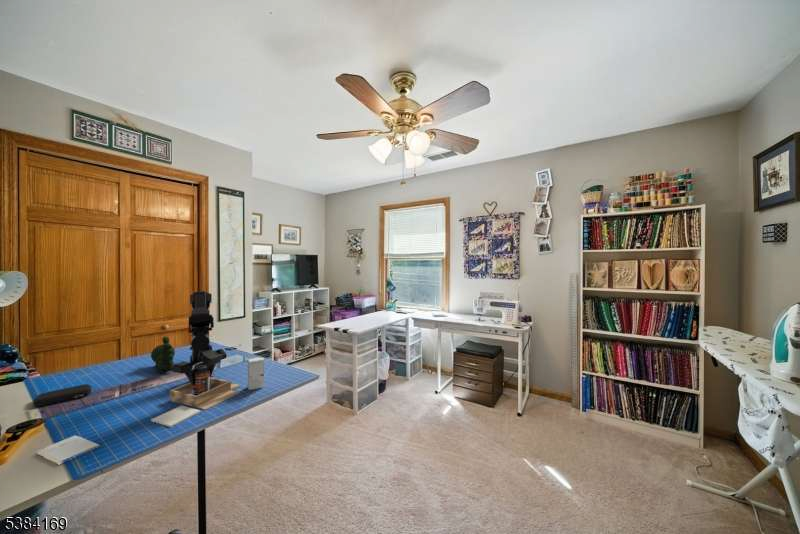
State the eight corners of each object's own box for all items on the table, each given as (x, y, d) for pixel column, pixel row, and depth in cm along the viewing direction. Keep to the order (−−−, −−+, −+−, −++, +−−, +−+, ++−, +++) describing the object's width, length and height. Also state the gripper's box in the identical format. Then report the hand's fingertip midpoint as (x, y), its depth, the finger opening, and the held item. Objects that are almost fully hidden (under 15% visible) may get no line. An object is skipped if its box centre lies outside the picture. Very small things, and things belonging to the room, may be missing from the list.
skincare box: (248, 390, 123) (248, 362, 122) (247, 386, 126) (247, 359, 126) (264, 387, 126) (264, 359, 126) (262, 383, 130) (262, 356, 129)
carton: (169, 400, 114) (169, 390, 113) (216, 380, 132) (216, 372, 132) (205, 410, 107) (205, 399, 107) (249, 387, 125) (249, 378, 125)
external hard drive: (59, 467, 78) (36, 456, 82) (99, 449, 86) (76, 439, 90) (58, 462, 78) (36, 450, 82) (99, 443, 86) (76, 434, 90)
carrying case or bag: (32, 411, 106) (91, 397, 116) (32, 403, 105) (91, 389, 116) (35, 401, 113) (91, 389, 124) (35, 393, 113) (90, 381, 124)
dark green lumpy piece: (179, 376, 140) (172, 358, 158) (179, 338, 138) (172, 324, 156) (154, 382, 134) (149, 362, 152) (153, 342, 132) (149, 327, 150)
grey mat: (150, 421, 99) (150, 419, 99) (181, 407, 109) (181, 405, 109) (170, 427, 96) (170, 425, 96) (200, 412, 105) (200, 410, 105)
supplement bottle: (191, 399, 114) (190, 370, 113) (193, 392, 119) (193, 365, 119) (209, 395, 117) (209, 367, 116) (211, 389, 122) (210, 363, 122)
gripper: (191, 353, 106) (191, 395, 106) (236, 339, 123) (236, 376, 124) (170, 349, 109) (171, 390, 110) (216, 337, 127) (217, 372, 128)
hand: (201, 381), depth 118 cm, fingers closed on supplement bottle, 6 cm apart
